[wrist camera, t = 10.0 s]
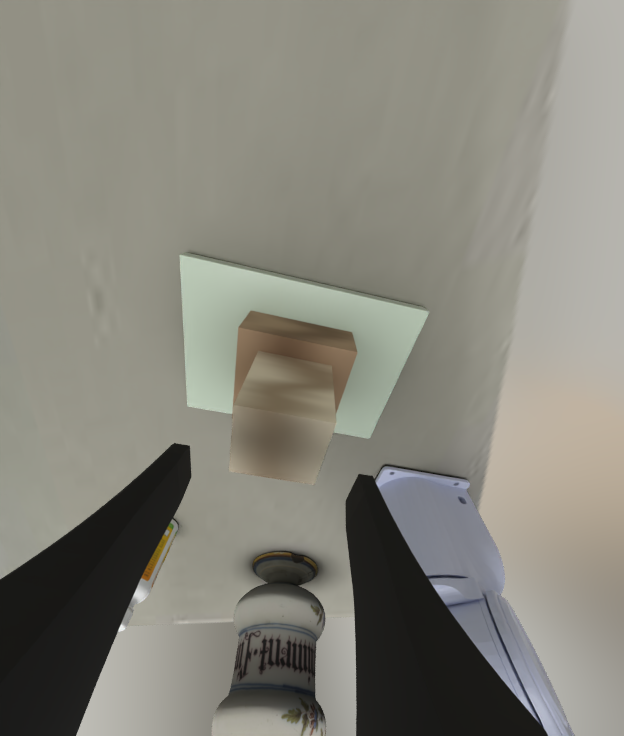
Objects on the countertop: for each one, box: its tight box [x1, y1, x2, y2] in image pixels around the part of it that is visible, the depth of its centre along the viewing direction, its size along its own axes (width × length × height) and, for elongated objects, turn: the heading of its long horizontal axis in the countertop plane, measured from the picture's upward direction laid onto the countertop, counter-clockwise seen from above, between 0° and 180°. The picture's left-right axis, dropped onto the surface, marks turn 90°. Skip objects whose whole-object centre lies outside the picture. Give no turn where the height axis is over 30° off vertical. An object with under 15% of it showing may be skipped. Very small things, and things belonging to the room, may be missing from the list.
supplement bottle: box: [118, 519, 178, 632], centre depth 29 cm, size 5×5×10 cm
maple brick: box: [229, 351, 337, 485], centre depth 14 cm, size 4×4×5 cm
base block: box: [232, 311, 358, 419], centre depth 18 cm, size 7×7×3 cm
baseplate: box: [180, 253, 429, 439], centre depth 19 cm, size 16×12×1 cm
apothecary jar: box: [212, 552, 326, 736], centre depth 31 cm, size 12×12×18 cm
